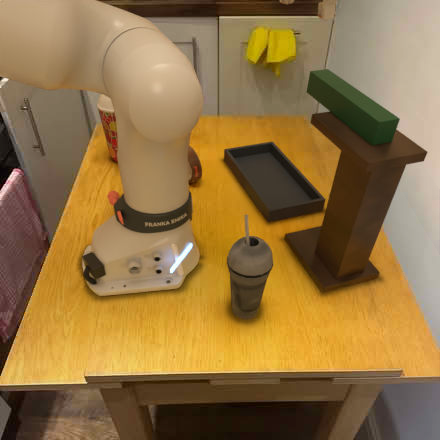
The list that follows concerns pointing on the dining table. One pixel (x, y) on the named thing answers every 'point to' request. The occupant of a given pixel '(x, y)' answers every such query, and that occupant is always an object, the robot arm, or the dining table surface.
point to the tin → (193, 166)
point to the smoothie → (108, 124)
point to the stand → (352, 205)
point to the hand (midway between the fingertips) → (305, 10)
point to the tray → (273, 181)
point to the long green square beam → (352, 107)
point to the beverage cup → (248, 273)
